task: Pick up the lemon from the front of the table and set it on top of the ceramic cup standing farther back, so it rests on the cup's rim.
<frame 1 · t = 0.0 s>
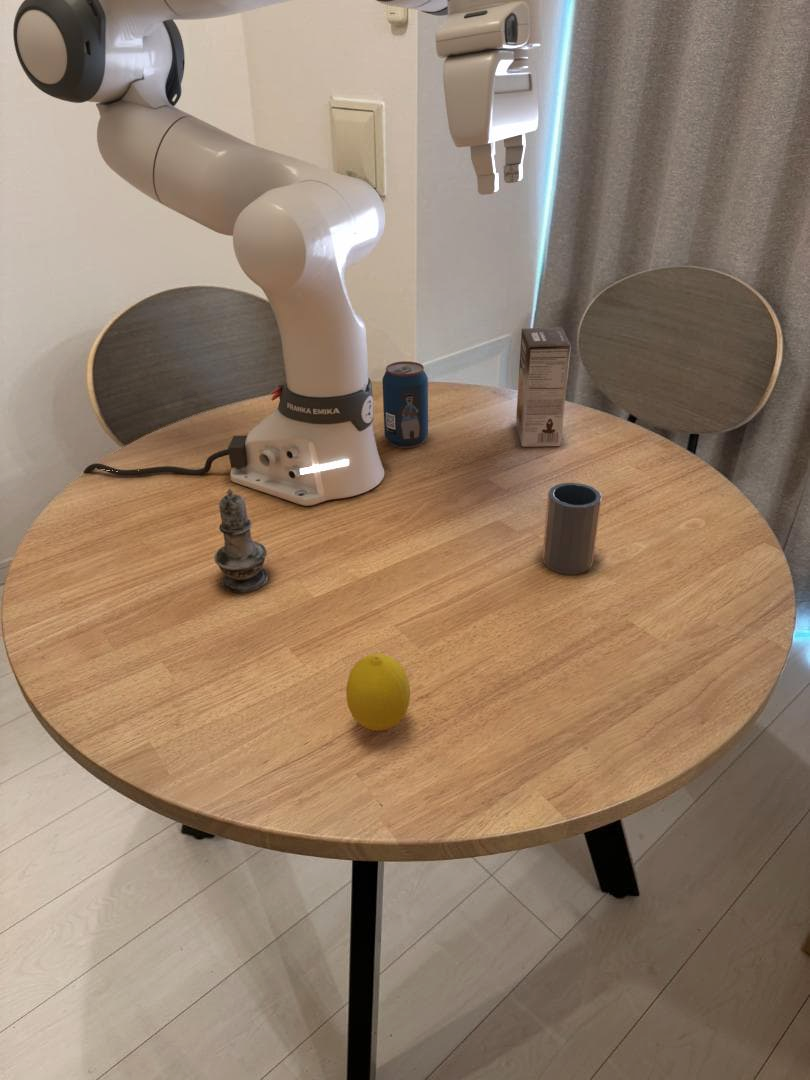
hand: (501, 187, 79), 39 cm above the table, tool pointing down, fingers open, 8 cm apart
cup: (567, 561, 87), on the table
coffee box: (537, 436, 118), on the table
lemon: (380, 727, 66), on the table
grey chess piece: (245, 581, 86), on the table
soda can: (406, 441, 117), on the table
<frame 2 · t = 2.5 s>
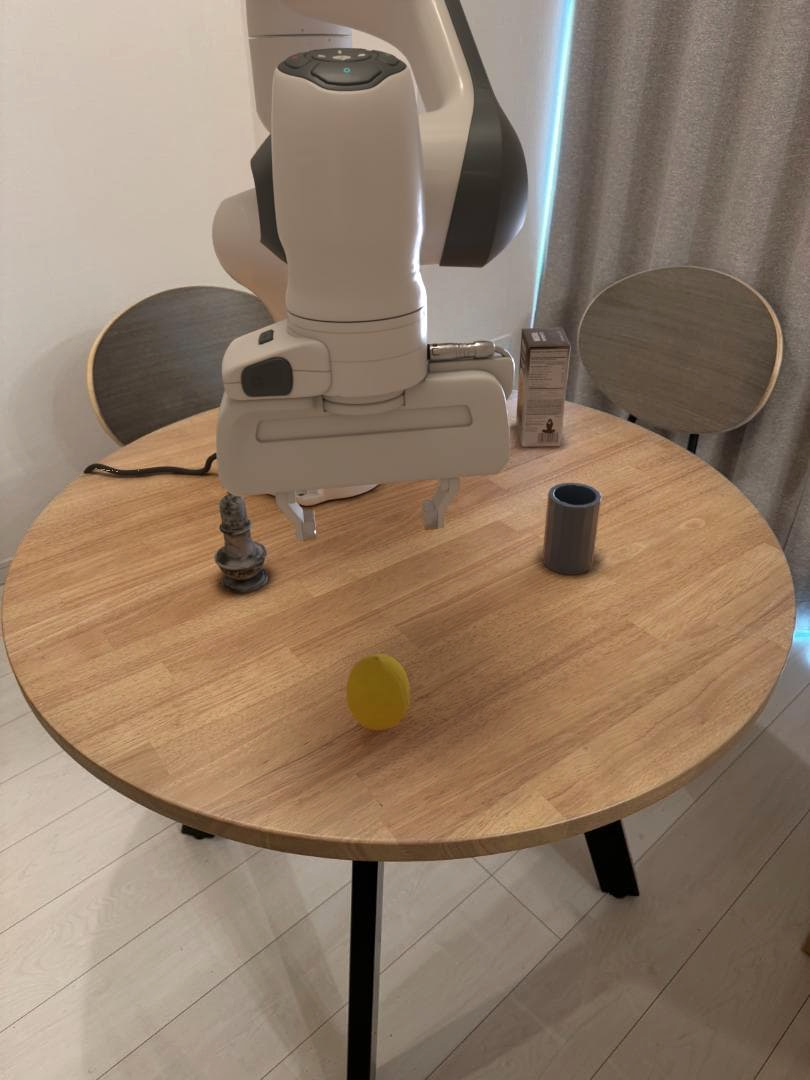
hand: (370, 531, 55), 20 cm above the table, tool pointing down, fingers open, 8 cm apart
nothing on the table moved.
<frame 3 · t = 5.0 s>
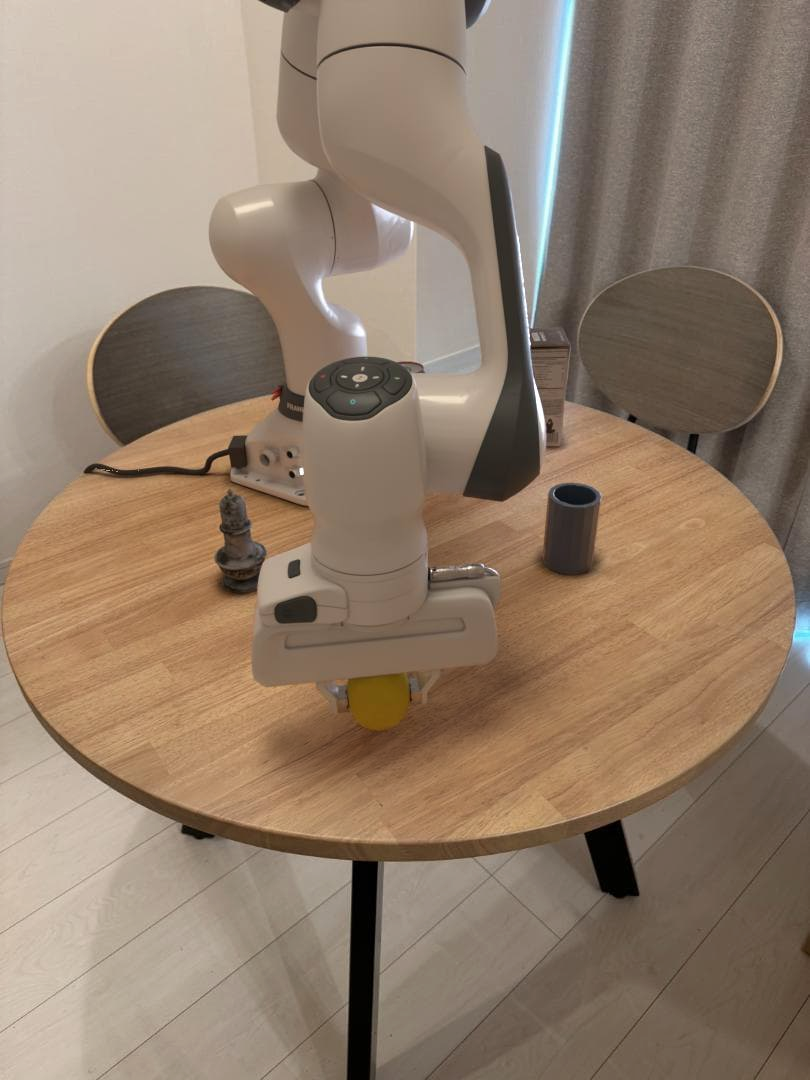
hand: (378, 703, 64), 3 cm above the table, tool pointing down, fingers closed on lemon, 5 cm apart
lemon: (380, 727, 66), on the table, touching gripper
everything else where it was.
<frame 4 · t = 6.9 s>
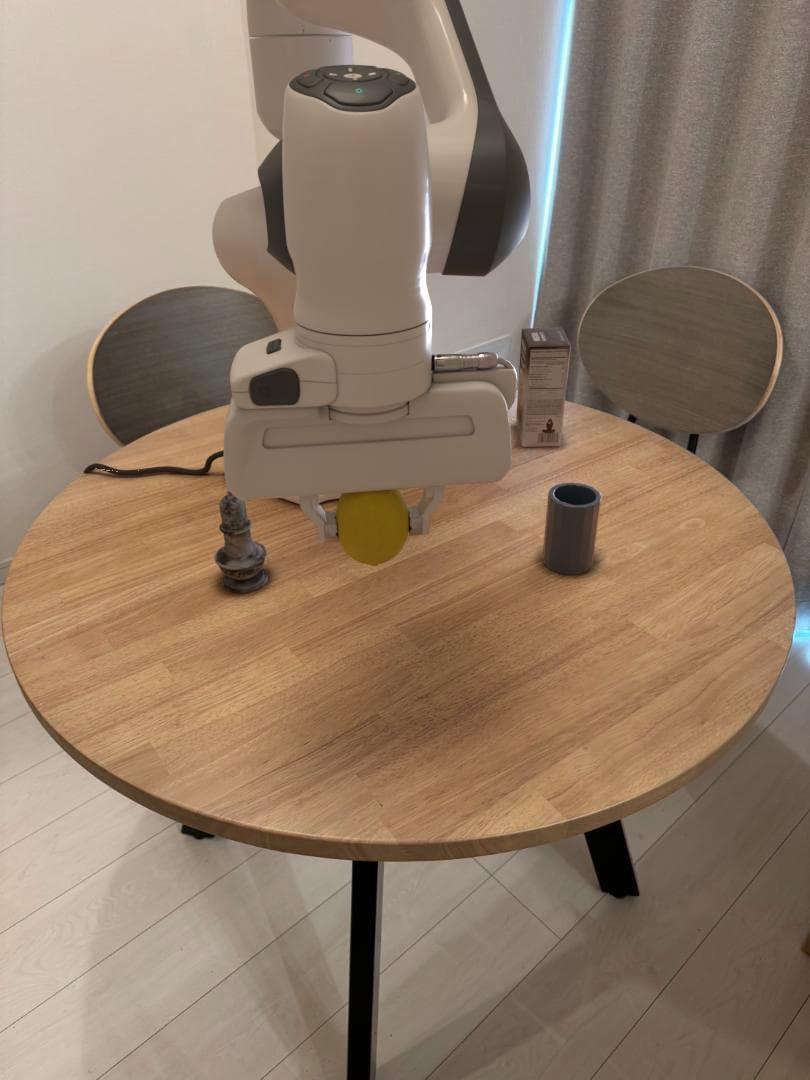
hand: (372, 535, 56), 20 cm above the table, tool pointing down, fingers closed on lemon, 5 cm apart
lemon: (374, 567, 58), point 17 cm above the table, touching gripper
everything else where it was.
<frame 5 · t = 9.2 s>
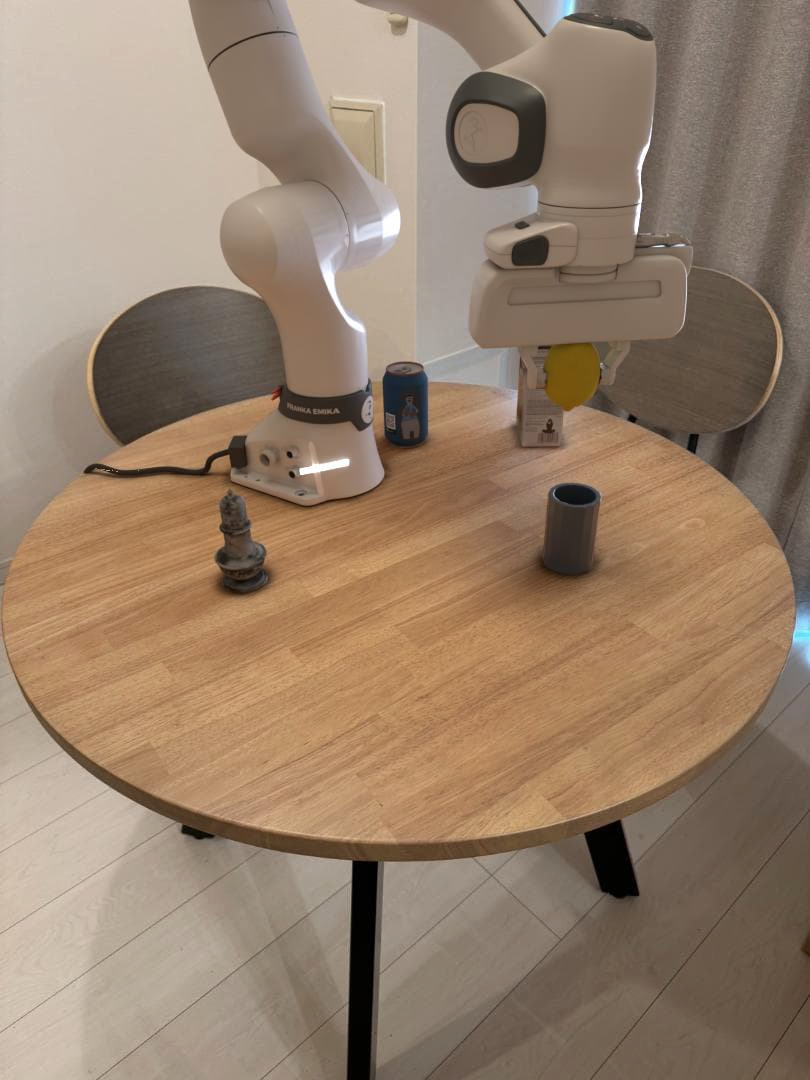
hand: (569, 385, 73), 23 cm above the table, tool pointing down, fingers closed on lemon, 5 cm apart
lemon: (566, 413, 74), point 20 cm above the table, touching gripper
everything else where it was.
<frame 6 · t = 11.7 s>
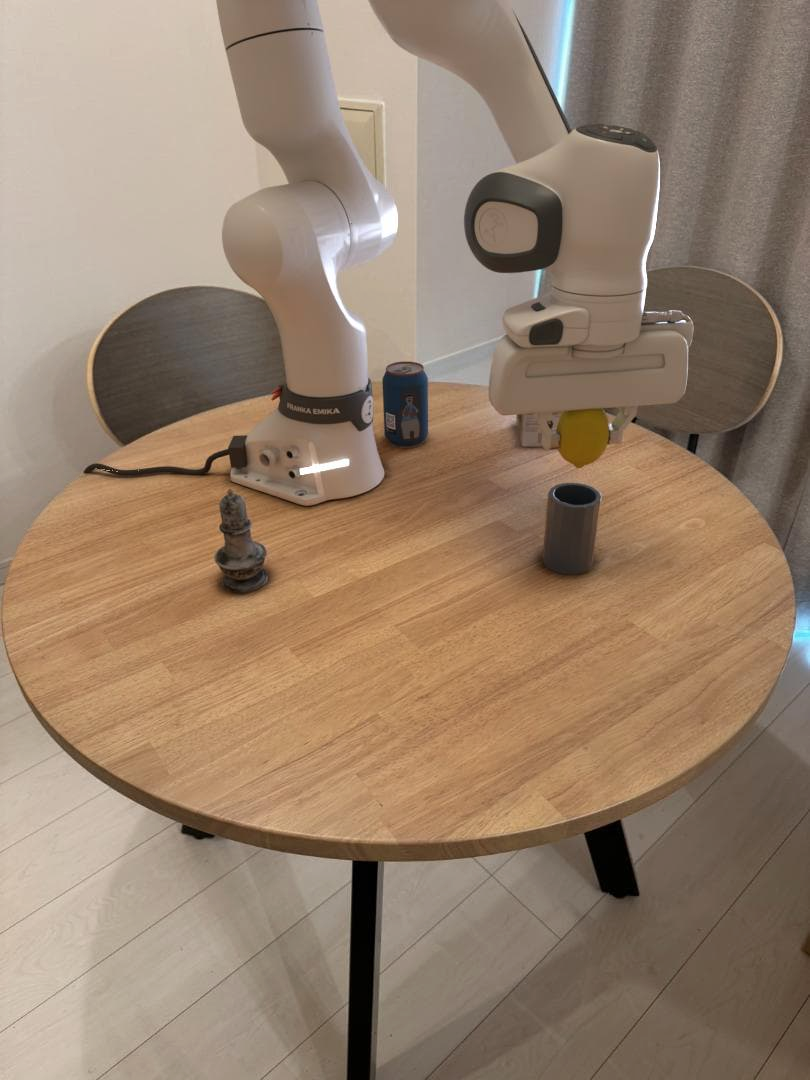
hand: (580, 444, 79), 15 cm above the table, tool pointing down, fingers closed on lemon, 5 cm apart
lemon: (578, 469, 81), point 12 cm above the table, touching gripper
everything else where it was.
when the fingers open (10 cm above the table, at t = 13.8 s): lemon stays where it is, resting on cup.
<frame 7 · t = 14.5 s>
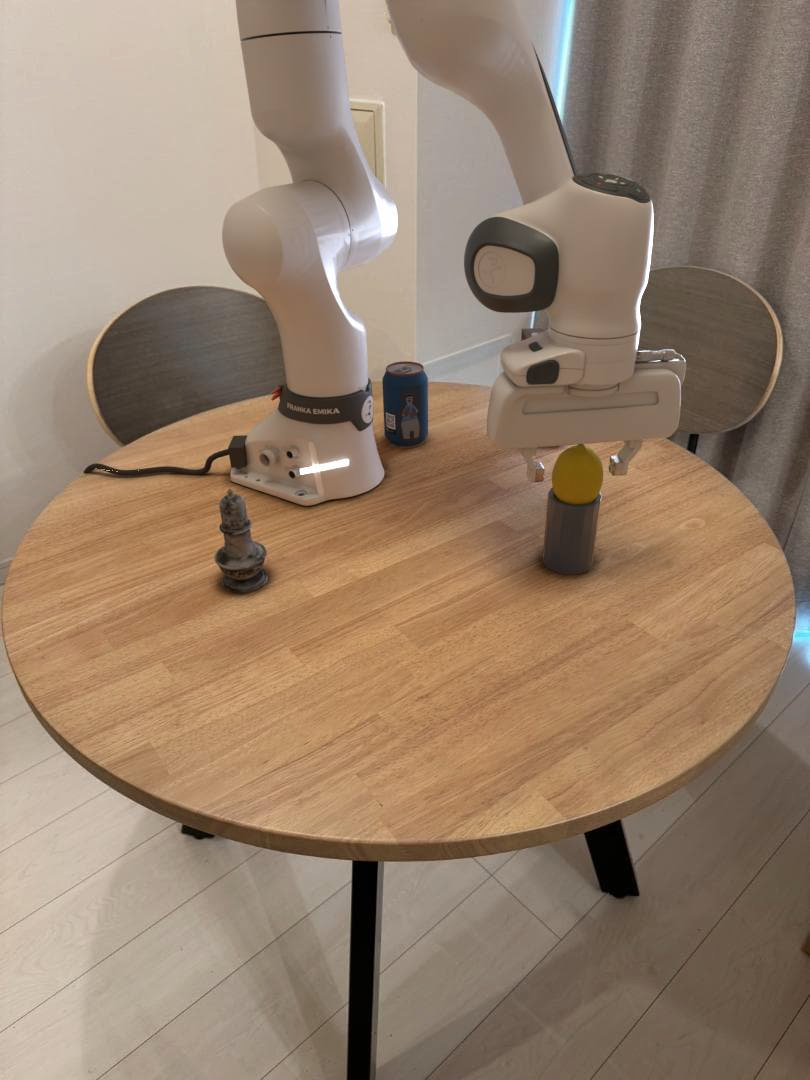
hand: (576, 476, 82), 11 cm above the table, tool pointing down, fingers open, 8 cm apart
cup: (567, 561, 87), on the table, touching lemon
lemon: (573, 510, 84), point 7 cm above the table, touching cup
everything else where it was.
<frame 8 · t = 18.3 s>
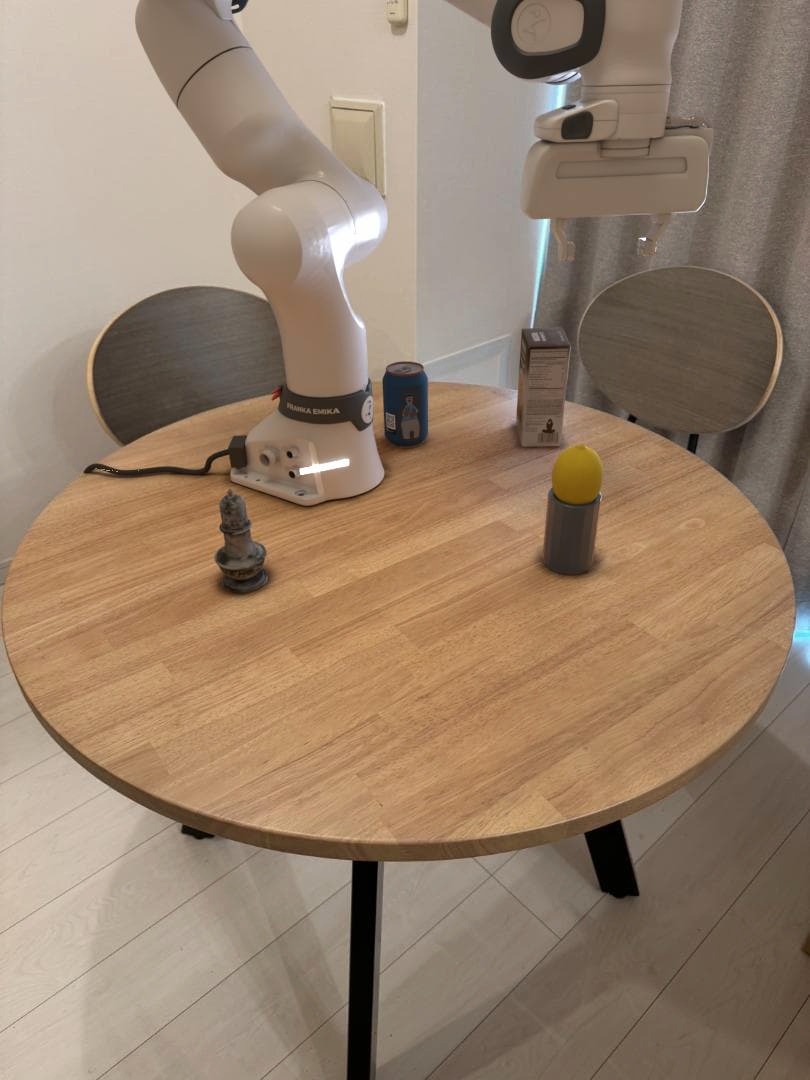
hand: (605, 257, 84), 31 cm above the table, tool pointing down, fingers open, 8 cm apart
nothing on the table moved.
at the end: lemon 0.1 cm off-centre on the cup, point 7.0 cm above the cup's base; cup tilted 0°; the gripper is holding nothing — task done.
